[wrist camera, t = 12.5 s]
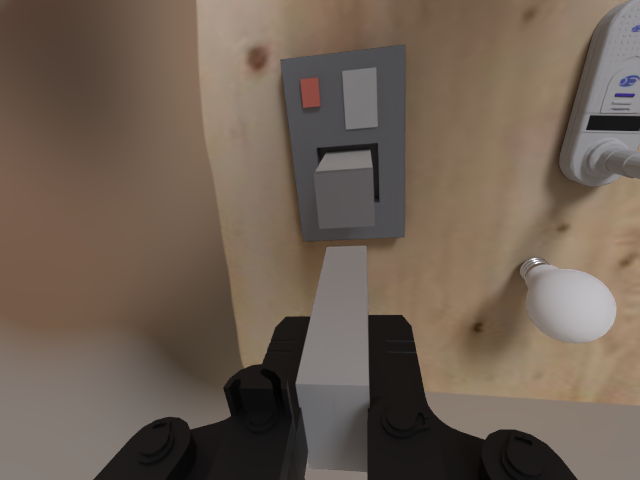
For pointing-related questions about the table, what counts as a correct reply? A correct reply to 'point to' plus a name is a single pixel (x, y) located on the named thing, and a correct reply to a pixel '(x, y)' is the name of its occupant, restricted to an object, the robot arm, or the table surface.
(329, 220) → the plug
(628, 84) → the electronic device
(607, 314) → the light bulb
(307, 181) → the socket block
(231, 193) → the table surface
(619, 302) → the table surface
